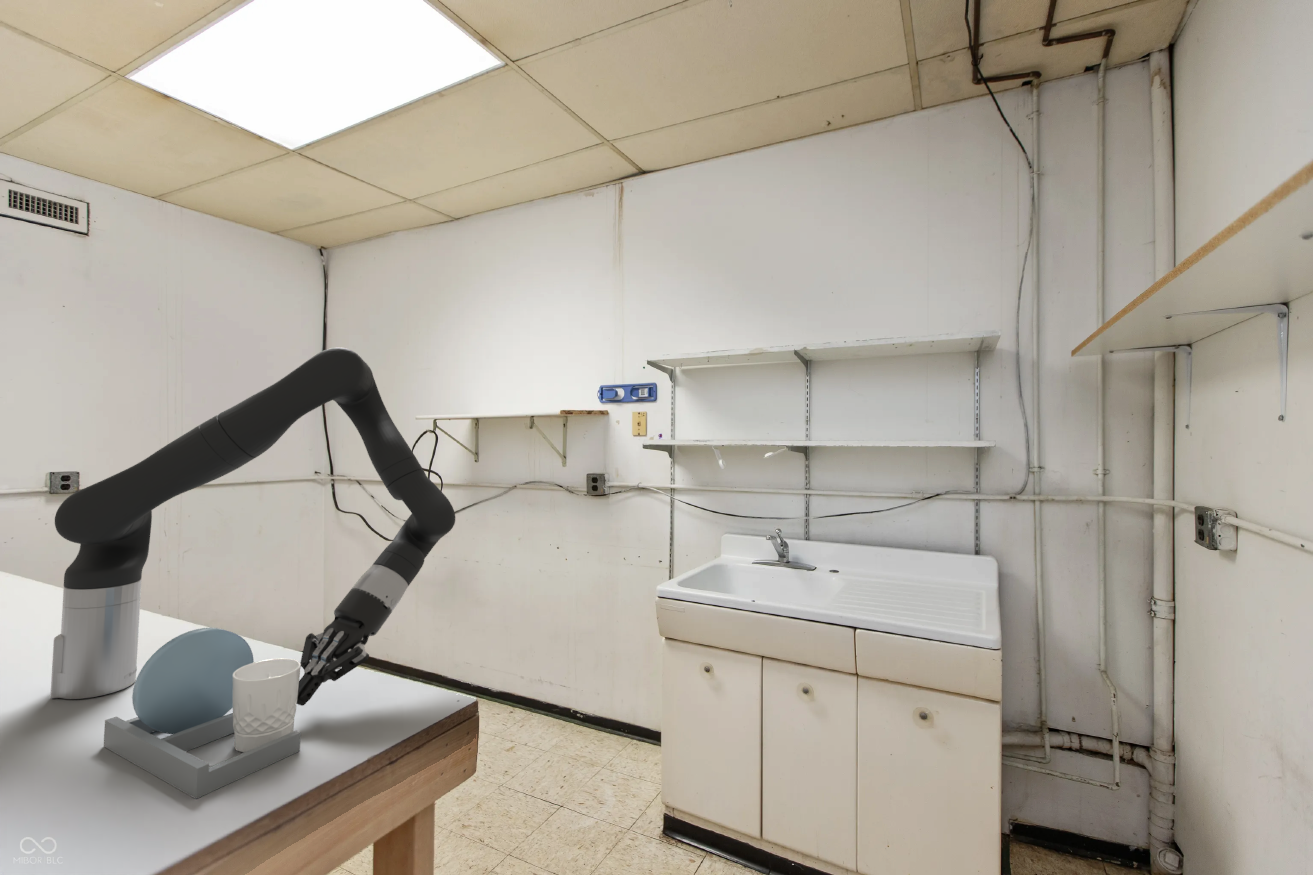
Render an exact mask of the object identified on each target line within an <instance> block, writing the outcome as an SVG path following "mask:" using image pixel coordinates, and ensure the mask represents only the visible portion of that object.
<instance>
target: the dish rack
mask: <svg viewBox="0 0 1313 875" xmlns="http://www.w3.org/2000/svg"><path fill="white" fill-rule="evenodd" d="M254 662H255V660H254V654H253V651H252V648H251V646H250V645H249V642H247V640H246V639H245V638H243V637H242V636H241V635H239V634H238V633H235V632H233V631H229V630H227V629H223V628H218V627H202V628H195V629H192V630H190V631H186V632H184V633H181V634H179V635H177V636H175V637H173V638H171V639H170V640H169V641H168V642H165V644H163V645H162V646H160V647H159V648H158V649H157V650H156V651H155V652H154V653H153V654H152V655H151V656H150V657H149V658H148V660H147V661H146V662H145V664H143V666H142V668H141V670H140V671H139V672H138V675H137V676H136V681H135V682H134V684H133V687H132V688H133V689H132V696H131V698H132V706H133V710H134V712H135V715H136V717H133V718H130V719H127V720H125V719H122V718H120V717H118V716H114V717H111V718H108V719H105V720H104V734H103V747H104V748H106V749H107V750H109V751H111V752H112V753H115V754H116V755H118V756H120V757H121V758H123V759H125V760H126V761H129V762H130V763H132V764H134V765H135V766H138V767H139V768H141V769H142V770H144V771H146V772H147V773H149V774H151V775H153V776H154V777H156V778H158V779H160V780H162V781H164V782H165V783H167V784H169V785H170V786H173V787H174V788H176V789H178V790H179V791H181V792H182V793H184V794H186V795H188V796H190V797H192V798H194V799H199V798H200V797H203V796H204V795H208V794H210V793H212V792H214V791H216V790H218V789H220V788H222V787H224V786H227V785H229V784H231V783H234V782H235V781H237V780H240V779H242V778H244V777H247V776H249V775H250V774H253V773H255V772H257V771H259V770H261V769H264V768H266V767H269V766H270V765H272V764H275V763H277V762H279V761H281V760H284V759H285V758H287V757H290V756H292V755H294V754H297V753H298V752H300V751H301V736H302V735H301V732H300V731H298V730H293V732H292V733H289V734H287V735H285V736H282V737H280V738H278V739H275V740H273V741H270V742H268V743H266V744H263V745H261V746H259V747H256V748H254V749H252V750H249V751H247V752H245V753H243V752H241V753H240V754H238V755H236V756H233V757H231V758H228V759H226V760H223V761H221V762H219V763H216V764H215V765H213V766H210V763H209V762H206V761H205V760H203V759H201V758H199V757H197V756H195V755H193V754H191V753H189V752H188V751H191V750H193V749H196V748H199V747H200V746H203V745H205V744H206V745H207V744H209V743H211V742H214V741H216V740H219V739H221V738H224V737H227V736H229V735H232V734H234V728H233V712H230V711H231V710H233V673H234V672H235V671H236V670H237V669H239V668H241V667H243V666H245V665H248V664H251V663H254ZM228 712H230V713H228ZM227 713H228V714H227ZM155 732H160V733H162V734H167V736H165V737H162V738H160V737H158V736H156V735H154V734H152V733H155Z"/></svg>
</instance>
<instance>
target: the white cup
mask: <svg viewBox="0 0 1313 875" xmlns="http://www.w3.org/2000/svg"><path fill="white" fill-rule="evenodd" d="M300 662H301V661H300V660H299V661H298V660H297V659H294V658H270V659H265V660H259V661H254V663H251V664H248V665H245V666H243V667H241V668H239V669H237V670H236V671H235V672H234V673H233V708H232V713H233V728H234V733H233V746H234V749H235V750H236V751H238V752H240V753H245V752H247V751H249V750H252V749H254V748H256V747H259V746H261V745H263V744H266V743H268V742H270V741H273V740H275V739H278V738H280V737H282V736H285V735H287V734H289V733H292V732H294V729H295V728H294V726H295V717H296V712H297V705H298V704H297V698H298V688H299V681H300V675H301V668H302V667H301V663H300Z"/></svg>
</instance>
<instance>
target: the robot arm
mask: <svg viewBox="0 0 1313 875" xmlns="http://www.w3.org/2000/svg"><path fill="white" fill-rule="evenodd" d="M331 401H334V402H335V403H336V404H337V405H338V406H339V407H340V409H342V411H343V412H344V413H345V415H346V416H347V417H348V418H349V420H350V421H351V422H352V424H353V425H354V427H355V428H356V430H357V432H358V434H359V435H360V437H361V440H362V442H363V445H364V447H365V450H366V452H367V455H368V457H369V459H370V462H371V464H372V465H373V467H374V469H375V471H376V472H377V475H378V477H379V478H380V480H381V481H382V483H383V485H384V486H385V489H386V490H387V491H388V493H389V494H390V496H391V497H392V498H393V499H394V500H396V501H402V502H403V503H404V504H405V506H406V507H407V509H408V510H409V511H410V512H411V514H410V515H409V517H408V518H407V519H406V520H405V521H404V523H403V524H402V526H401V527H400V529H399V530H398V532H397V534H395V536H394V538H393V540H392V541H391V542H390V543H388V545H387V546H386V547H385V548H384V550H383V551H382V552H381V553H380V554H379V556H377V558H376V559H375V561H374V562H373V564H372V565H371V566H370V567H369V568H368V569H367V570H366V571H365V572H364V573H363V574H362V575H360V578H358V579H357V581H356V583H355V584H354V585H353V586H352V587H351V589H350V590H349V591H348V593H347V594H346V595H345V597H343V599H342V600H341V602H339V604H338V605H337V606H336V608H335V609H334V610H333V614H334V619H333V621H332V622H331V623H329V624H328V625H327V626H326V627H325V628H324V629H323V632H320V633H318V634H316V635H315V634H314V633H312V632H311V633H309V634H307V635H306V637H305V640H304V646H303V649H302V653H301V654H302V655H301V658H300V661H299V662H300V663H301V667H300V668H302V669H303V672H304V673H303V676H302V677H301V678H299V688H298V698H297V704H296V705H298V706H302V707H303V706H305V705H306V704H307V702H309V701H310V700H311V699H312V697H313V696H314V694H315V693H316V692H317V690H319V688H320V686H321V685H322V683H326V682H327V681H329V680H330V681H333V682H336V681H338V680H339V679H340V678H341V677H343V676H345V675H347V674H348V673H350V672H351V671H353V670H354V669H355V668H357V667H359V666H360V665H362V664H364V663H365V662H367V661H368V659H369V657H370V654H369V653H367V651H366V649H365V646H366V644H367V643H368V641H369V638H370V637H374V636H375V635H377V634H378V633H379V631H380V629H381V628H382V626H383V625H385V623H386V621H387V620H388V619H389V617H390V615H391V614H392V613H393V611H394V610H395V608H397V606H398V604H400V602H401V600H402V598H403V597H404V595H405V593H406V592H407V589H408V588H409V586H410V585H411V583H412V582H413V581H414V580H415V578H416V577H417V575H418V574H419V572H420V571H421V570H422V568H423V565H424V563H425V559H426V558H427V556H428V555H429V553H430V552H431V551H432V550H433V548H434V547H435V546H436V544H437V543H439V541H440V540H441V539H442V538H443V537H444V536H446V535H447V534H448V533H450V532H451V531H452V530H453V528H454V526H455V524H456V512H455V510H454V507H453V505H452V503H451V502H450V500H449V499H448V497H447V496H446V495H445V494H444V493H443V492H442V491H441V489H440V488H439V487H438V486H437V485H436V484H435V483H434V482H433V481H432V480H431V479H430V478H429V477H428V476H427V474H426V472H425V470H424V469H423V467H422V465H421V464H420V462H419V460H418V459H417V457H416V455H415V454H414V453H413V450H412V449H411V448H410V446H409V444H408V443H407V442H406V440H405V438H404V437H403V435H402V433H401V432H400V431H399V429H398V427H397V425H396V424H395V423H394V420H393V419H392V417H391V416H390V414H389V411H388V410H387V408H386V406H385V404H384V401H383V399H382V396H381V394H380V391H379V388H378V386H377V383H376V380H375V378H374V374H373V371H372V369H371V367H370V366H369V364H368V363H367V362H366V361H365V360H364V359H363V358H362V356H360V355H359V354H358V353H356V352H355V351H354V350H352V349H350V348H346V347H341V346H340V347H338V346H337V347H330V348H328V349H324V350H321V351H320V352H318V353H317V354H316V355H314V356H312V357H310V358H309V359H307V361H305V362H304V363H302V364H301V365H299V366H298V367H297V368H295V369H294V370H292V371H291V372H289V373H288V374H287V375H285V376H284V377H282V378H280V379H279V380H278V381H276V382H275V383H273V384H272V385H270V386H268V387H266V388H264V389H262V390H260V391H258V392H256V393H255V394H253V395H251V396H249V397H247V398H246V399H244V400H242V401H240V402H238V403H237V404H235V405H233V406H231V407H230V408H228V409H226V410H224V411H222V412H220V413H218V414H216V415H214V416H213V417H211V418H209V419H208V420H205V421H204V422H202V423H201V424H199V425H196V426H195V427H194V428H192V429H191V430H189V431H188V432H186V433H184V434H182V435H181V436H179V437H177V438H176V439H174V440H173V441H171V442H170V443H169V442H168V444H166V445H165V446H163V447H161V448H160V449H158V450H157V451H155V452H154V453H152V454H150V456H148V457H145V458H144V459H143V460H141V461H139V462H137V463H136V464H134V465H132V466H130V467H127V469H123V470H122V471H120V472H118V473H116V474H113V475H111V476H109V477H107V478H104V479H102V480H100V481H98V482H96V483H94V484H92V485H89V486H86V487H84V488H82V489H80V490H78V491H76V492H74V493H71V495H69V496H68V497H66V498H65V499H64V500H63V502H62V503H61V504H60V505H59V507H58V509H57V511H56V513H55V516H54V527H55V530H56V533H58V534H59V535H60V536H61V537H62V538H63V539H65V540H66V541H69V542H72V543H75V544H80V545H79V550H78V553H77V555H76V557H75V558H74V559H73V561H72V562H71V563H70V564H69V566H67V568H66V570H65V571H64V575H63V590H62V591H63V592H62V609H61V611H62V612H61V628H60V634H58V635H56V636H55V637H54V638H53V645H52V646H53V648H52V663H51V665H52V667H51V681H50V695H49V696H50V697H49V698H50V699H58V698H59V699H65V700H79V699H81V700H82V699H89V698H94V697H101V696H105V695H110V694H113V693H116V692H119V691H122V690H124V689H126V688H128V687H130V686H132V685H134V684H135V681H136V679H137V670H138V668H137V667H138V666H137V664H138V650H139V648H138V647H139V630H140V629H139V627H140V611H141V593H142V575H143V568H144V567H145V565H146V562H147V559H148V557H149V552H150V551H149V550H150V543H151V542H150V541H151V530H152V520H153V510H154V509H156V508H157V507H159V506H160V505H162V504H164V503H166V502H167V501H169V500H171V499H173V498H175V497H177V496H179V495H182V494H185V493H186V492H188V491H189V492H190V491H192V490H193V489H196V488H199V487H201V486H204V485H206V484H209V483H210V482H212V481H215V480H217V479H219V478H221V477H224V476H227V475H228V474H229V473H231V472H233V471H235V470H237V469H240V468H241V467H243V466H244V465H246V464H248V463H249V462H251V461H253V460H255V459H256V458H258V457H259V456H261V455H263V454H264V453H266V451H268V450H269V449H270V448H271V447H273V446H274V445H275V444H276V443H277V441H279V440H280V439H281V437H282V436H283V435H284V434H285V433H286V432H287V431H288V430H289V429H290V428H291V427H292V426H293V425H294V424H295V422H297V421H298V420H299V419H301V418H302V417H303V416H305V415H307V414H309V413H310V412H312V411H314V410H315V409H317V408H319V407H320V406H321V407H322V406H323V405H325V404H327V403H328V402H331Z"/></svg>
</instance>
